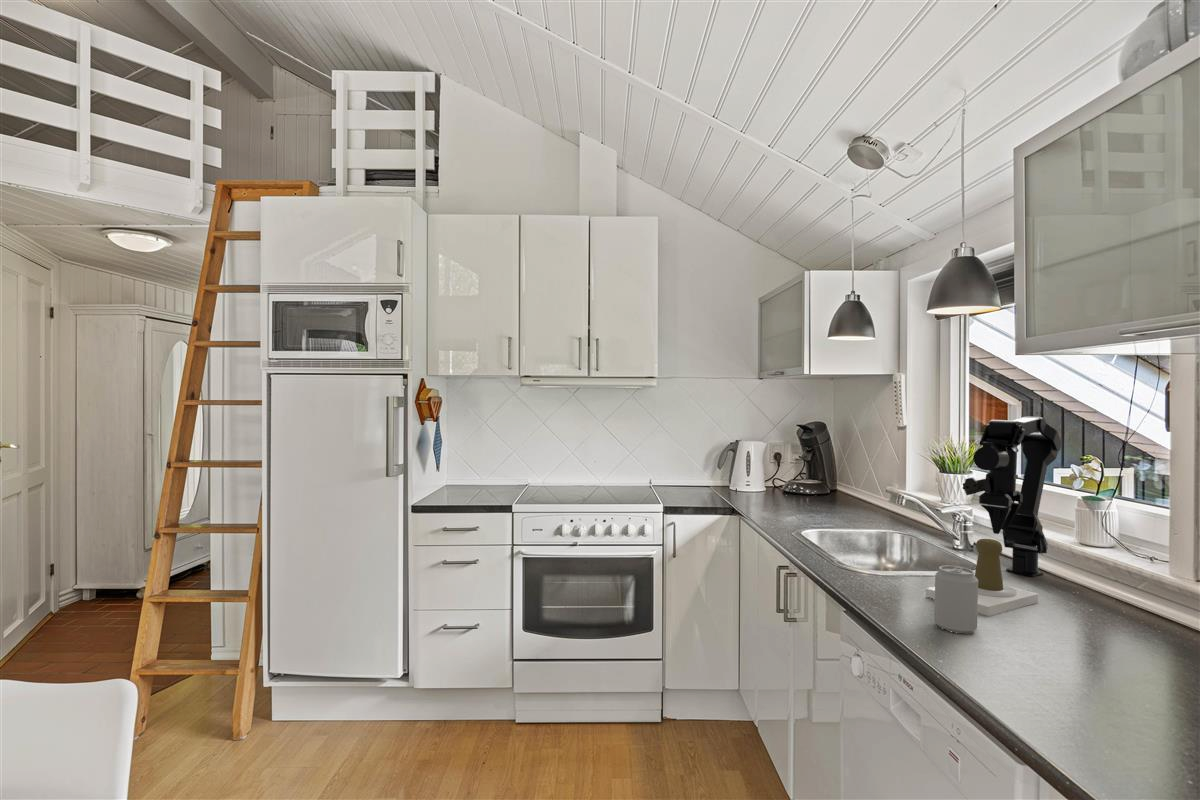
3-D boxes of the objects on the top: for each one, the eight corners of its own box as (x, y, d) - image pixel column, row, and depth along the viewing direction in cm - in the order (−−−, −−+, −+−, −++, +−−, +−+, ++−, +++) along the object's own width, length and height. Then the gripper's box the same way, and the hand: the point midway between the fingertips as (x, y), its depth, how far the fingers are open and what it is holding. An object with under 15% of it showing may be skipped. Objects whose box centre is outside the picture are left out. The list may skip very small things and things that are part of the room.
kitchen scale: (975, 585, 154) (976, 575, 154) (1038, 602, 142) (1038, 591, 142) (925, 597, 144) (926, 585, 144) (988, 616, 132) (988, 604, 132)
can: (928, 628, 125) (930, 568, 124) (940, 619, 130) (941, 561, 130) (971, 638, 119) (972, 576, 119) (981, 629, 125) (983, 569, 124)
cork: (1001, 592, 140) (1003, 543, 140) (971, 587, 144) (972, 539, 144) (1005, 586, 145) (1006, 539, 145) (975, 581, 149) (976, 535, 148)
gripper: (975, 465, 169) (972, 523, 169) (957, 467, 156) (954, 530, 156) (1024, 469, 162) (1021, 530, 162) (1009, 472, 148) (1006, 538, 148)
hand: (1000, 531), depth 157 cm, fingers open, 9 cm apart
